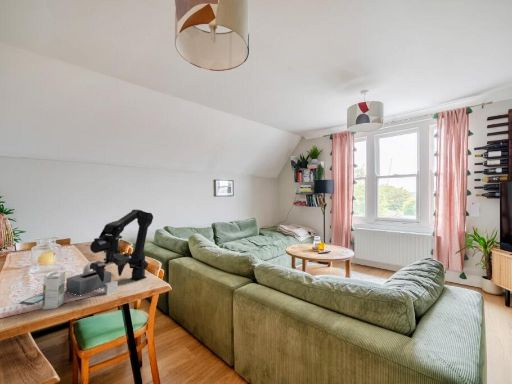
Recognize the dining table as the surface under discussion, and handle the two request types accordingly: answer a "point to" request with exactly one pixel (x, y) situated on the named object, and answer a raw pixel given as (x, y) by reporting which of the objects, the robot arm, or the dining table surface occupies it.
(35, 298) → the smartphone
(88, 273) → the cash box
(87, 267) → the donut
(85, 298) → the dining table surface
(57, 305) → the syrup box
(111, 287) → the light grey block
